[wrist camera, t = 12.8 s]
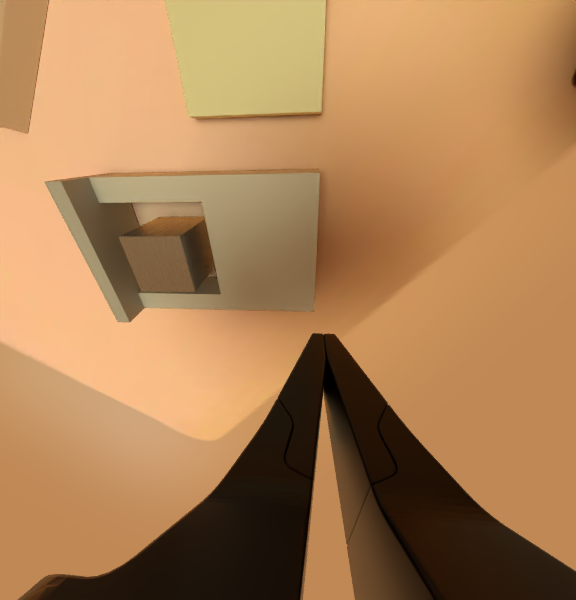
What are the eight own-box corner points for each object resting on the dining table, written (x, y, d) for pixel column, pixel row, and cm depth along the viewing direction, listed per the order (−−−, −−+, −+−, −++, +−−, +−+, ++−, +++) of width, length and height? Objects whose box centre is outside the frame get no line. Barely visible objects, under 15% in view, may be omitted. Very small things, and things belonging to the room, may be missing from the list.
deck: (318, 168, 16) (321, 176, 12) (313, 292, 22) (314, 327, 18) (107, 173, 17) (44, 181, 13) (152, 289, 23) (117, 322, 19)
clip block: (179, 236, 15) (118, 236, 15) (194, 292, 17) (141, 291, 17) (208, 216, 19) (159, 216, 19) (217, 262, 21) (174, 262, 21)
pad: (329, -117, 10) (332, -145, 9) (320, 114, 15) (321, 111, 14) (155, -98, 11) (140, -123, 10) (196, 118, 15) (188, 116, 14)
